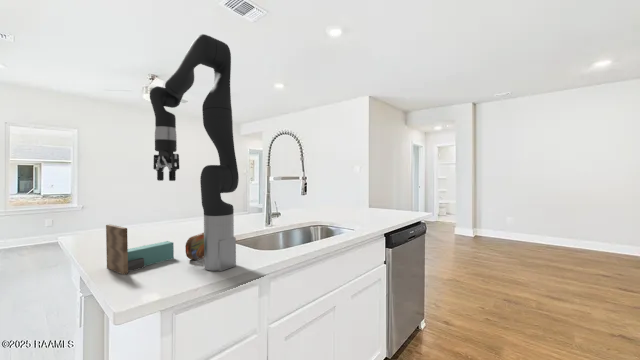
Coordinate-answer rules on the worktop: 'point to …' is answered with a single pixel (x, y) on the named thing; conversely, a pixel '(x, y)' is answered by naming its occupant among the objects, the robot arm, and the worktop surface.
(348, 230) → the worktop surface
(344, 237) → the worktop surface
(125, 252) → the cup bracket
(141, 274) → the worktop surface
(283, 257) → the worktop surface
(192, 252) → the tin
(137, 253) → the rail
